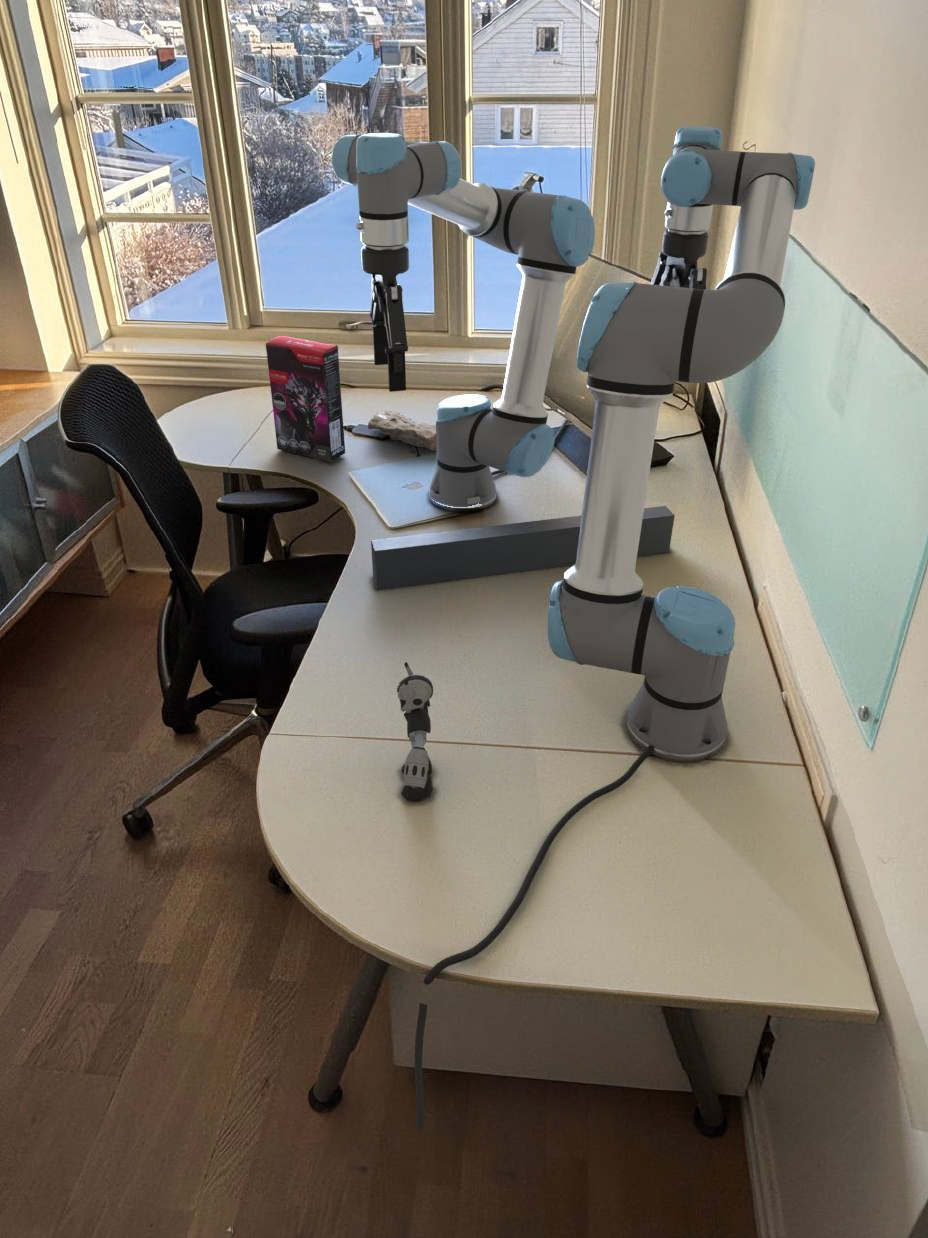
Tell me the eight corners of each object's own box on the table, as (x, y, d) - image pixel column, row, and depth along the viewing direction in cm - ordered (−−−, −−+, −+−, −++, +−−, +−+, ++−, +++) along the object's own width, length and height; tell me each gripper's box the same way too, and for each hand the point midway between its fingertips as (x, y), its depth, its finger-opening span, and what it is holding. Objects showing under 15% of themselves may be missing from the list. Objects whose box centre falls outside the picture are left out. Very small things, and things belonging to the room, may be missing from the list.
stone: (352, 434, 231) (356, 410, 229) (373, 426, 244) (377, 403, 242) (430, 458, 227) (435, 434, 225) (447, 448, 241) (452, 426, 238)
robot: (436, 831, 125) (434, 718, 114) (400, 833, 125) (395, 719, 114) (432, 736, 141) (431, 628, 130) (401, 737, 141) (396, 629, 130)
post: (660, 542, 193) (665, 505, 188) (669, 552, 190) (674, 515, 185) (373, 578, 180) (370, 539, 175) (376, 589, 177) (374, 551, 172)
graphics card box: (274, 450, 230) (262, 341, 215) (291, 440, 235) (280, 333, 220) (331, 464, 224) (323, 352, 209) (347, 453, 229) (340, 344, 214)
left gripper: (348, 229, 154) (356, 355, 166) (375, 264, 134) (381, 404, 146) (392, 227, 156) (397, 352, 167) (425, 261, 136) (427, 400, 147)
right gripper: (636, 216, 165) (623, 335, 177) (700, 247, 145) (681, 378, 157) (674, 215, 167) (659, 332, 179) (743, 244, 147) (721, 375, 159)
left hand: (389, 376), depth 157 cm, fingers open, 13 cm apart
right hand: (669, 354), depth 168 cm, fingers open, 13 cm apart
